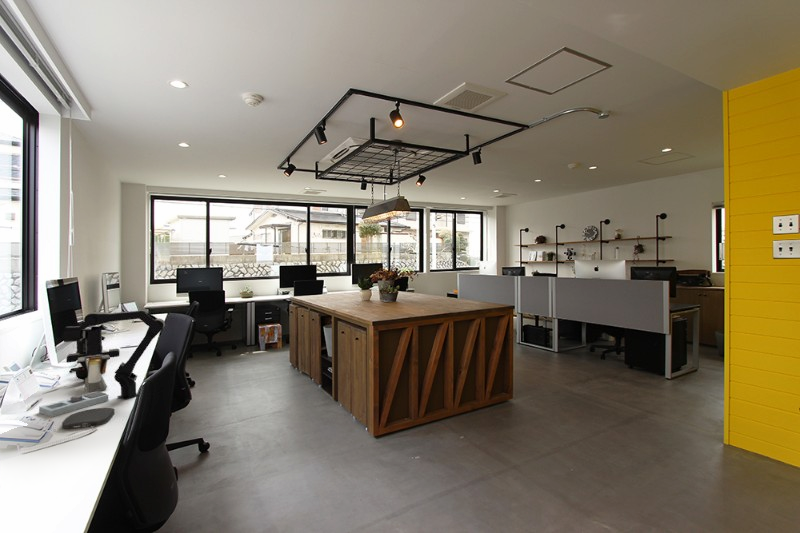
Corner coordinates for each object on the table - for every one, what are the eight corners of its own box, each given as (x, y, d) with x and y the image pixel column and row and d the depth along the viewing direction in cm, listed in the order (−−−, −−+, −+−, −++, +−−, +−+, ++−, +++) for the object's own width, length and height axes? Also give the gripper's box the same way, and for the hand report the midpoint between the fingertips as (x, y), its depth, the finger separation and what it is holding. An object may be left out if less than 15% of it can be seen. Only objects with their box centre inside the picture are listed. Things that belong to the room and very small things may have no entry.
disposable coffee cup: (90, 371, 219) (90, 351, 219) (110, 370, 223) (110, 349, 223) (85, 376, 211) (85, 355, 210) (106, 374, 215) (106, 353, 214)
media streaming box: (117, 412, 163) (117, 405, 163) (105, 426, 150) (105, 418, 150) (74, 417, 158) (74, 410, 158) (58, 432, 144) (58, 424, 144)
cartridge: (103, 380, 176) (102, 360, 176) (91, 383, 172) (91, 362, 172) (97, 379, 178) (97, 359, 178) (85, 382, 174) (85, 361, 174)
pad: (106, 394, 177) (106, 393, 177) (91, 398, 171) (91, 397, 171) (98, 391, 180) (98, 391, 180) (82, 396, 174) (82, 395, 174)
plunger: (84, 403, 170) (84, 396, 170) (73, 406, 167) (73, 399, 166) (79, 401, 172) (79, 394, 172) (68, 404, 168) (68, 397, 168)
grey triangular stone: (107, 390, 189) (107, 369, 189) (83, 394, 184) (83, 372, 184) (107, 381, 202) (107, 361, 202) (85, 385, 197) (85, 364, 197)
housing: (108, 400, 176) (108, 394, 176) (51, 417, 157) (51, 410, 157) (96, 396, 180) (96, 391, 180) (39, 412, 161) (39, 406, 161)
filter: (70, 385, 196) (70, 327, 195) (75, 380, 204) (75, 324, 203) (103, 381, 202) (103, 325, 201) (107, 377, 210) (107, 322, 209)
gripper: (119, 334, 187) (120, 366, 187) (69, 339, 176) (70, 373, 176) (118, 338, 178) (119, 372, 178) (65, 343, 167) (66, 379, 167)
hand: (94, 373), depth 175 cm, fingers closed on cartridge, 4 cm apart
